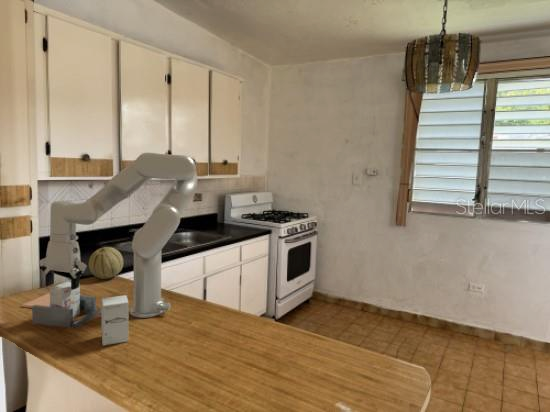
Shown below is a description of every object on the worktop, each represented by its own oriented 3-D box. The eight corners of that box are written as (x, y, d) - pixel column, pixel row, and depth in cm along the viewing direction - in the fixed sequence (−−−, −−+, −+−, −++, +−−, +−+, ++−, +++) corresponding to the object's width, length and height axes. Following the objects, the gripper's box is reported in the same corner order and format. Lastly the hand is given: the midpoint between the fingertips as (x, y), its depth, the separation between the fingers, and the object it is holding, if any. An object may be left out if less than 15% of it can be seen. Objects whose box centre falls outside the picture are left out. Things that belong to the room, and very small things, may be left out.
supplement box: (102, 346, 108) (101, 305, 107) (101, 336, 115) (100, 297, 114) (129, 342, 112) (128, 302, 110) (126, 332, 118) (126, 294, 117)
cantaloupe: (124, 272, 181) (123, 242, 180) (122, 281, 168) (122, 249, 166) (90, 274, 176) (90, 243, 175) (86, 284, 162) (86, 250, 161)
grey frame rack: (100, 313, 132) (100, 297, 131) (75, 328, 119) (75, 310, 119) (61, 308, 134) (60, 293, 134) (32, 323, 122) (32, 306, 121)
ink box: (62, 323, 122) (61, 289, 121) (49, 322, 123) (48, 288, 122) (80, 314, 131) (80, 281, 129) (68, 312, 132) (67, 280, 130)
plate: (78, 298, 145) (78, 296, 145) (53, 310, 133) (53, 308, 133) (48, 295, 147) (48, 293, 147) (21, 307, 135) (21, 304, 135)
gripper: (93, 238, 126) (92, 286, 128) (48, 233, 129) (48, 280, 131) (78, 242, 119) (77, 293, 121) (31, 237, 122) (31, 287, 123)
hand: (62, 286), depth 126 cm, fingers open, 9 cm apart
